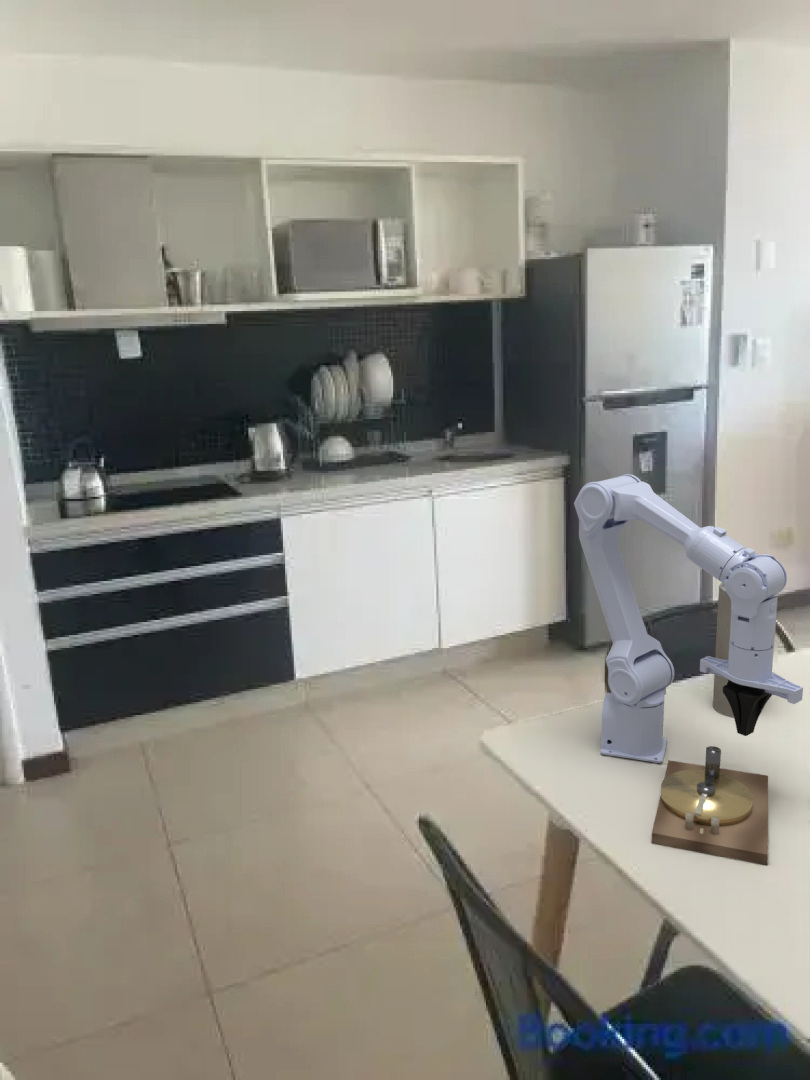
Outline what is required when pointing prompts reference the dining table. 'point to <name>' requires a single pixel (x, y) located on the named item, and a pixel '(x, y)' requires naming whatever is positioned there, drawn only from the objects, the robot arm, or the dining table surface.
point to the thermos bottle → (722, 650)
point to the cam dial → (707, 793)
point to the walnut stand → (713, 839)
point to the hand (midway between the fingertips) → (745, 732)
